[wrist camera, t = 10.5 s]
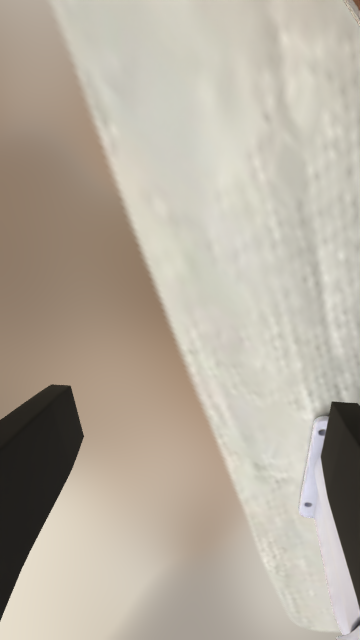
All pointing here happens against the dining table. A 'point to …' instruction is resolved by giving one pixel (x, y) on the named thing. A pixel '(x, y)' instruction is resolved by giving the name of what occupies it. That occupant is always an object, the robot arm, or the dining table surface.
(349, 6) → the food container
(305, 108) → the dining table surface
